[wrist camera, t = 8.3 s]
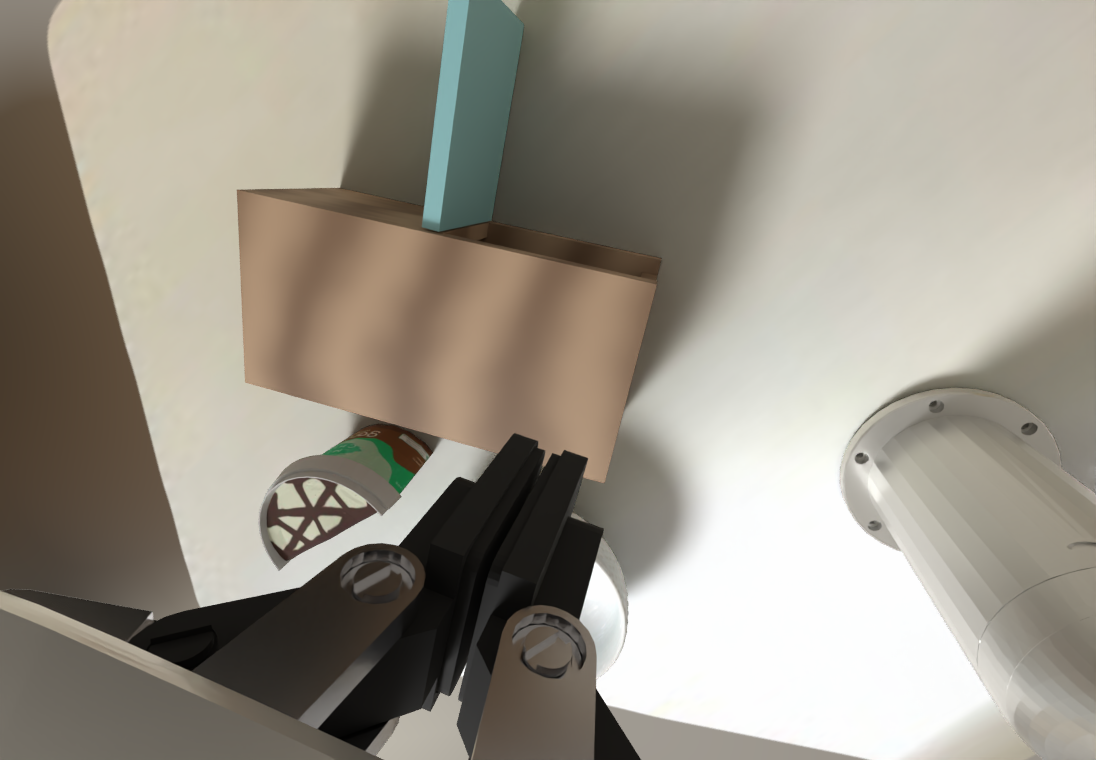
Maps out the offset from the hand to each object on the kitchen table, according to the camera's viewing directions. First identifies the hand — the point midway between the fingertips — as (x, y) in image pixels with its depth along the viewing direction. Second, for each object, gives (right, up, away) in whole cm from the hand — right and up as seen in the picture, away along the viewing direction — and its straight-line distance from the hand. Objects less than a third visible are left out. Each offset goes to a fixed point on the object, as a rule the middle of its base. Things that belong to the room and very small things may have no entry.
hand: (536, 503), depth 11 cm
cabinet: (-5, +8, +28) cm, 30 cm away
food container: (-15, -3, +35) cm, 39 cm away
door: (-4, +19, +23) cm, 31 cm away
